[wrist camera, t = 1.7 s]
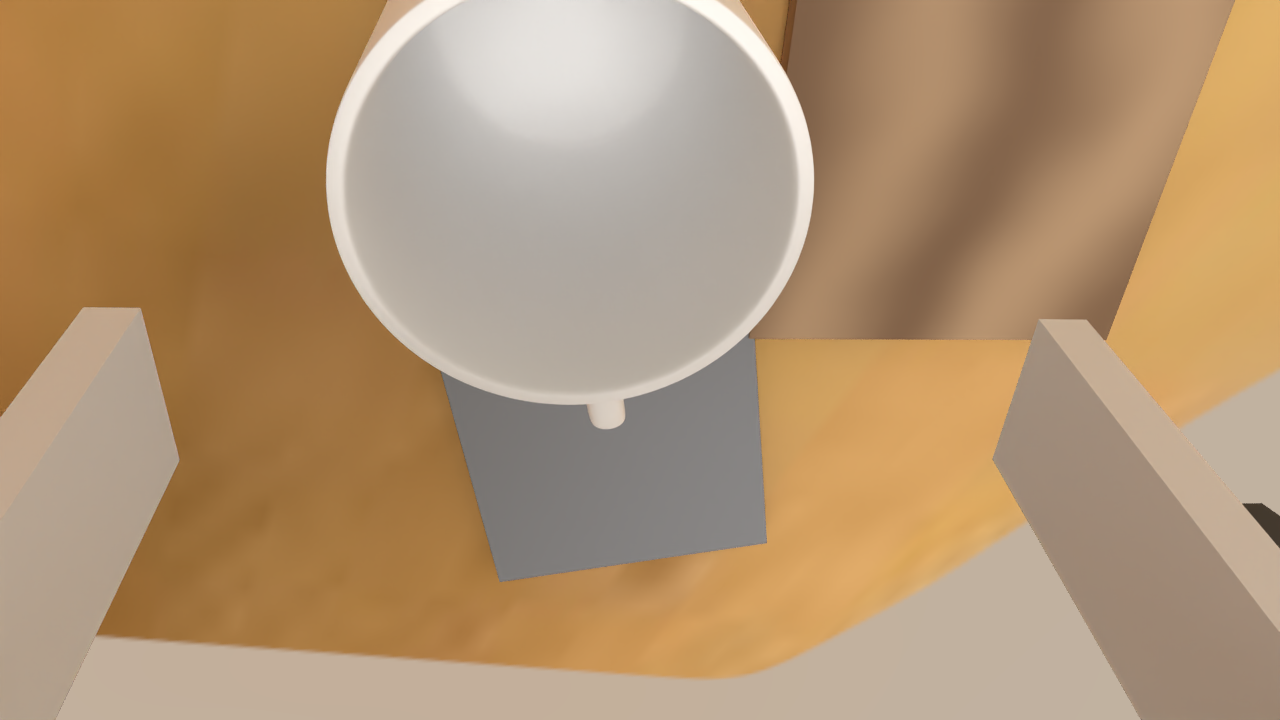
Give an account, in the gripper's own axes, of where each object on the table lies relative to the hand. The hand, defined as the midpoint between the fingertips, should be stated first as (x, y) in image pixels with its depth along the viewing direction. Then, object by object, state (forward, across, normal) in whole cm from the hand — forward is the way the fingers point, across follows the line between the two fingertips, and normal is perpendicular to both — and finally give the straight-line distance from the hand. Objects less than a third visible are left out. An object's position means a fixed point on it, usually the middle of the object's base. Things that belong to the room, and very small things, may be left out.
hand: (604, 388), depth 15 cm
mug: (+15, 0, 0) cm, 15 cm away
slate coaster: (+15, +2, -13) cm, 20 cm away
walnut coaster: (+15, +12, -2) cm, 19 cm away
